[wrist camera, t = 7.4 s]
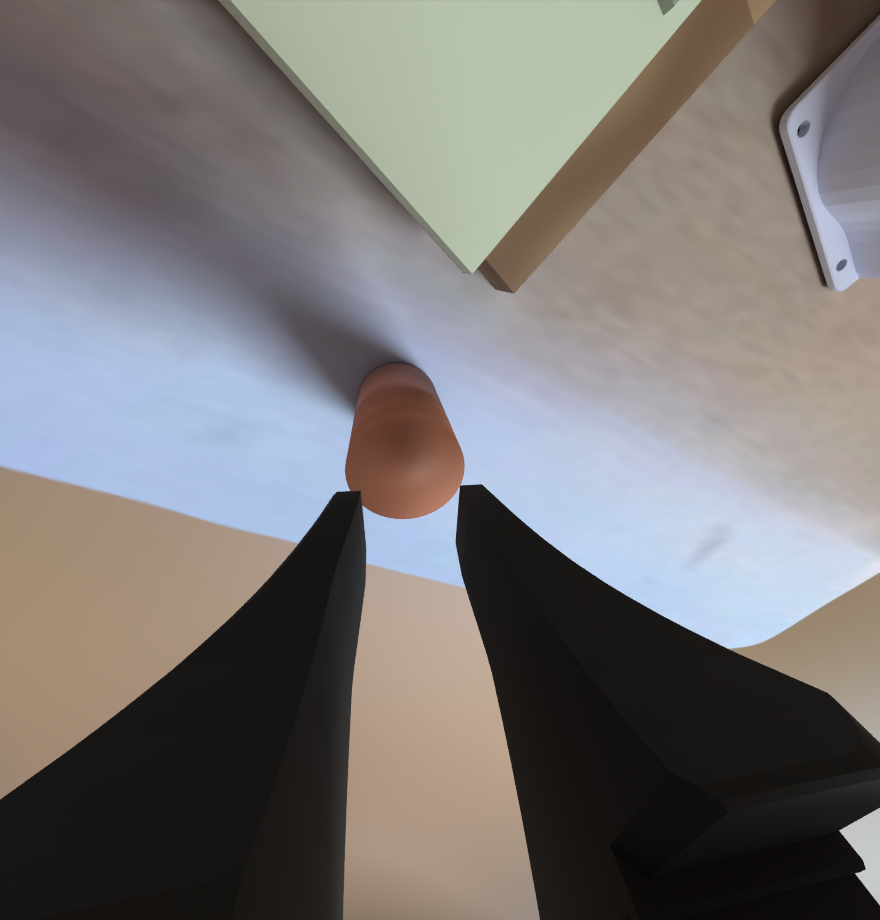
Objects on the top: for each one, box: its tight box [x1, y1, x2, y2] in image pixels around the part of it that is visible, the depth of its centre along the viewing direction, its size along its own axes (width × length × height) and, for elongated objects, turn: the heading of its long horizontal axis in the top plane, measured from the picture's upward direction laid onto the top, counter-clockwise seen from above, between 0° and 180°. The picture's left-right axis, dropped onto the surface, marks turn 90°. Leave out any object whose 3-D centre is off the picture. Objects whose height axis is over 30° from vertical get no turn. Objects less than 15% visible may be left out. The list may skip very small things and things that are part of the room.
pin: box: [345, 362, 464, 519], centre depth 15 cm, size 4×4×7 cm
